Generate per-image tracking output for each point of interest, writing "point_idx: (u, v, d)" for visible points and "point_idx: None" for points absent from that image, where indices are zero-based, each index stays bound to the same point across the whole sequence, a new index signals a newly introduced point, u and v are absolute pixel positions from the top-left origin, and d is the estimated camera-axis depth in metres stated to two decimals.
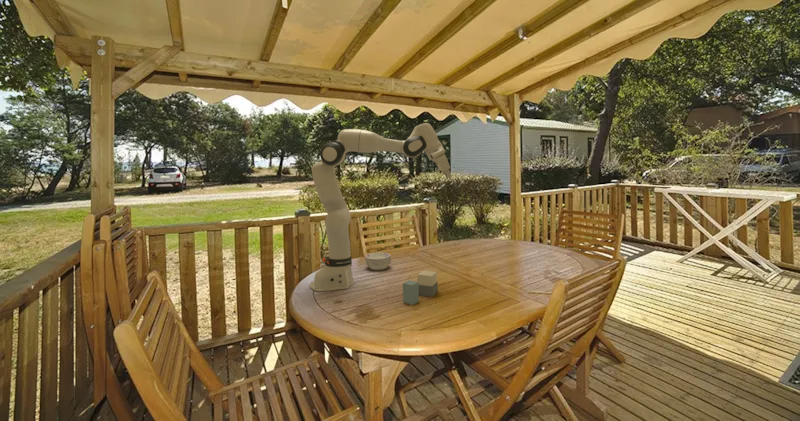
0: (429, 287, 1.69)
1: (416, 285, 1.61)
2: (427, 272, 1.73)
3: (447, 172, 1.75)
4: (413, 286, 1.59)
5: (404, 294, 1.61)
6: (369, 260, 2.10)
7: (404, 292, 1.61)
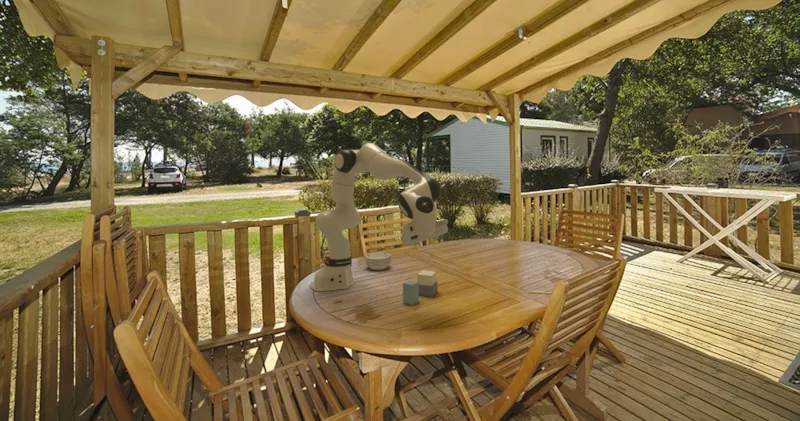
0: (429, 287, 1.69)
1: (416, 285, 1.61)
2: (427, 272, 1.74)
3: None
4: (413, 286, 1.59)
5: (404, 294, 1.61)
6: (369, 260, 2.10)
7: (404, 292, 1.61)
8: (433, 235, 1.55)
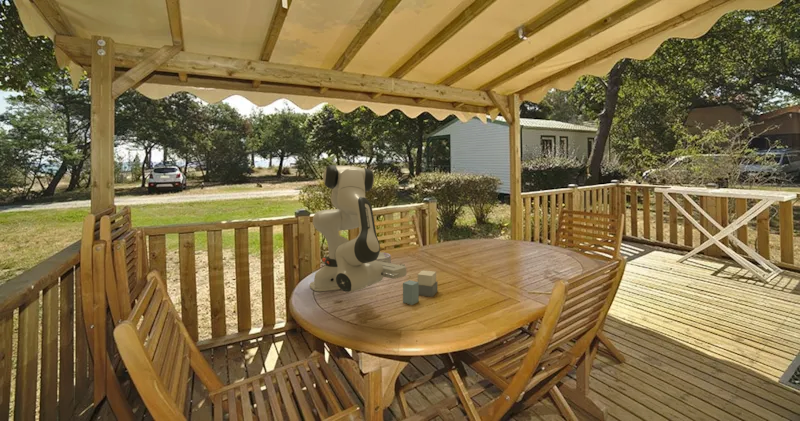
0: (429, 287, 1.69)
1: (416, 285, 1.61)
2: (427, 272, 1.74)
3: None
4: (413, 286, 1.59)
5: (404, 294, 1.61)
6: None
7: (404, 292, 1.61)
8: None
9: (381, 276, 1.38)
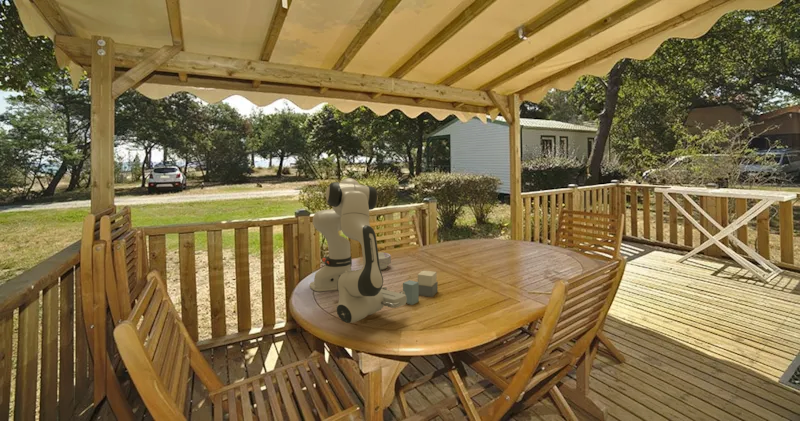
0: (429, 287, 1.69)
1: (416, 285, 1.61)
2: (427, 272, 1.73)
3: None
4: (413, 286, 1.59)
5: None
6: None
7: None
8: None
9: (381, 305, 1.39)
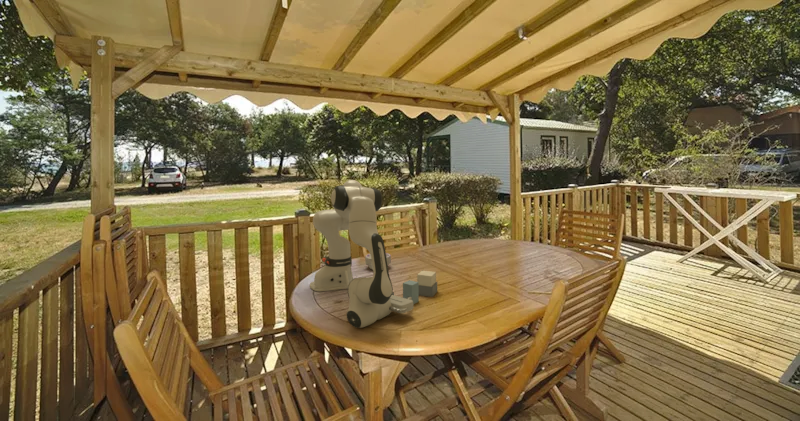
0: (429, 287, 1.69)
1: (416, 285, 1.61)
2: (427, 272, 1.73)
3: None
4: (413, 286, 1.59)
5: (404, 294, 1.61)
6: (369, 260, 2.10)
7: (404, 292, 1.61)
8: None
9: (389, 310, 1.44)
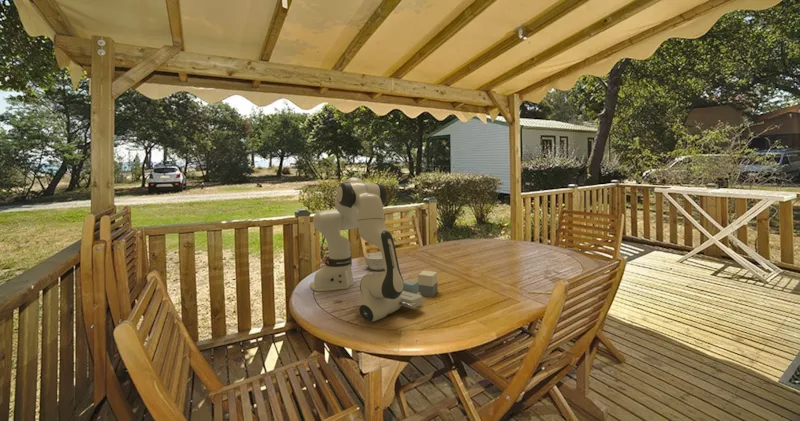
0: (429, 287, 1.69)
1: (416, 285, 1.61)
2: (428, 272, 1.73)
3: None
4: (413, 286, 1.59)
5: None
6: (369, 260, 2.10)
7: None
8: None
9: (399, 305, 1.49)
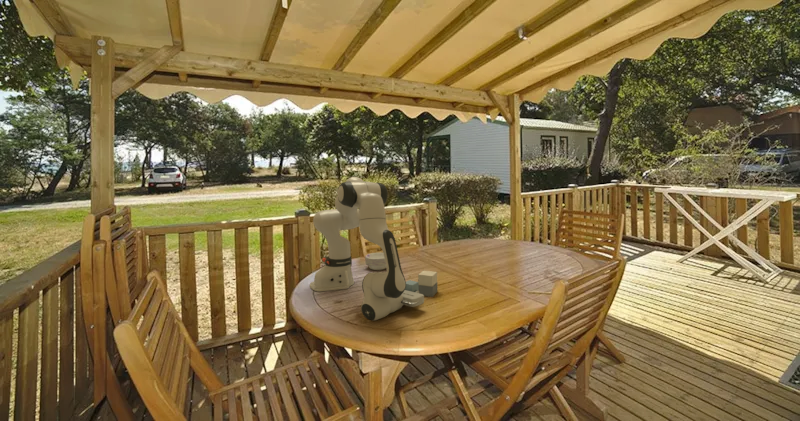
0: (429, 287, 1.69)
1: (416, 285, 1.61)
2: (428, 272, 1.74)
3: None
4: (413, 286, 1.59)
5: None
6: (369, 260, 2.10)
7: None
8: None
9: (401, 304, 1.50)
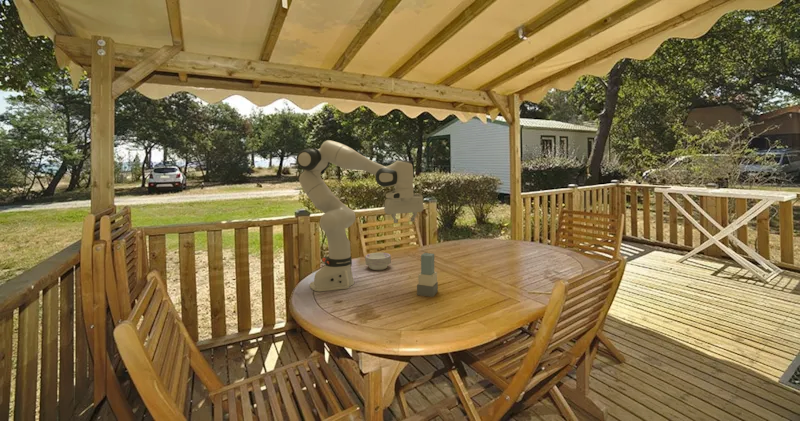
0: (430, 287, 1.69)
1: (433, 256, 1.71)
2: None
3: (392, 216, 1.74)
4: (431, 257, 1.70)
5: (422, 266, 1.71)
6: (369, 260, 2.10)
7: (422, 264, 1.71)
8: (411, 208, 1.77)
9: None
